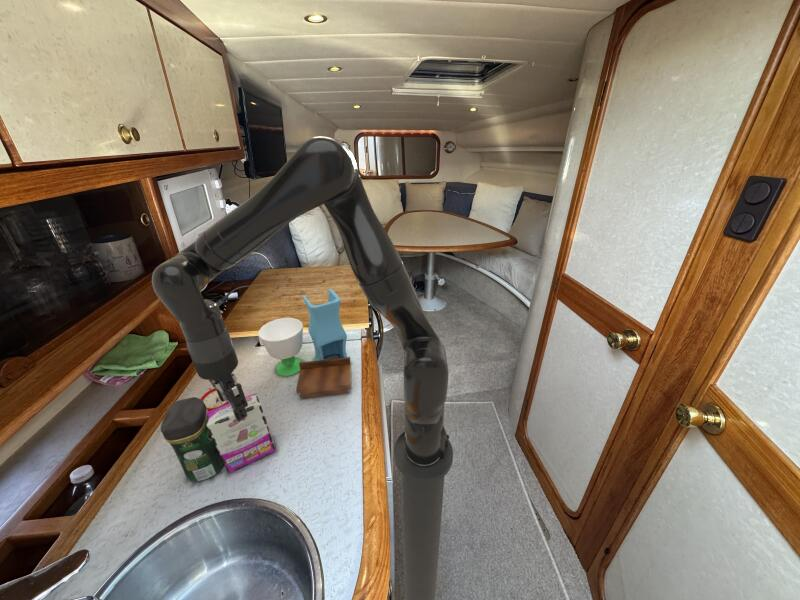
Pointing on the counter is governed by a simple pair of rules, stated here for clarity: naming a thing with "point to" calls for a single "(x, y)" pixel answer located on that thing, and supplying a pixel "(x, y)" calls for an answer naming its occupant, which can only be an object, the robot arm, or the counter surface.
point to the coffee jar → (192, 439)
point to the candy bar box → (240, 434)
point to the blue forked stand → (326, 327)
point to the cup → (283, 343)
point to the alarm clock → (212, 400)
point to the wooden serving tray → (324, 377)
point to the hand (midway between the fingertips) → (233, 408)
